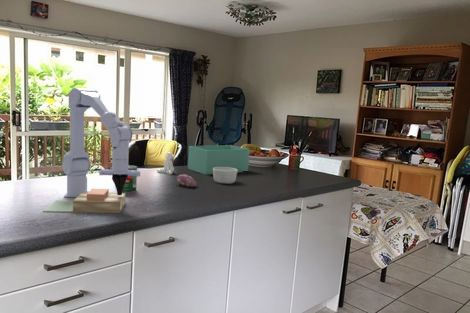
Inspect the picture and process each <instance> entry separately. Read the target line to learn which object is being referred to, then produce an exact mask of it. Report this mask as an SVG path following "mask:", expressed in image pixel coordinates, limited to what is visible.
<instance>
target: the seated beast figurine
mask: <svg viewBox="0 0 470 313" xmlns="http://www.w3.org/2000/svg"><path fill="white" fill-rule="evenodd" d="M164 157H165V158H164V159H165V160H164V162H163V165H164V167H160V168H158V169H156V172H157V174H167V175H172V174H173V173H174V170H175V168H174V165H173V161H172V160H173V159H174V158H175V157H176V155H175V154H173V153H172V152H169V151H168V152H167V153H166V154H165V156H164Z"/></svg>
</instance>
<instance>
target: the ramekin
mask: <svg viewBox="0 0 470 313" xmlns="http://www.w3.org/2000/svg"><path fill="white" fill-rule="evenodd" d="M238 173H239V172H238V170H237V169H235V168H229V167H215V168H213V174H212V176H213V180H214V183H219V184H234V183H235V182H236V180H237V175H238Z"/></svg>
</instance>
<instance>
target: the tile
mask: <svg viewBox="0 0 470 313" xmlns="http://www.w3.org/2000/svg"><path fill="white" fill-rule="evenodd" d="M109 190H110V189H109V188H91V189H90V190H88V191H89V192H88V193H87V200H104V199H105V198H106V197H107V195H108V194H109V193H110V192H109Z"/></svg>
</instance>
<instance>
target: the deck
mask: <svg viewBox="0 0 470 313" xmlns="http://www.w3.org/2000/svg"><path fill="white" fill-rule="evenodd" d="M87 193H88V192H82V193H81V194H80V195H79V196H78V197H75V198H74V200H72V201H73V212H72V213H101V214H102V213H103V214H106V213H107V214H108V213H109V214H112V213H115V214H120V213H121V212H122V209H123V208H124V206H125V205H126V193H123V192H122V195H117V192H109V194H108V195H107V197H106V198H105V199H104V200H87Z"/></svg>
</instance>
